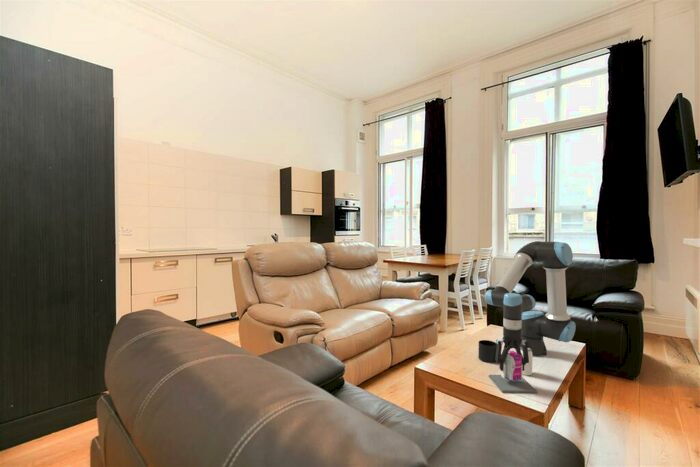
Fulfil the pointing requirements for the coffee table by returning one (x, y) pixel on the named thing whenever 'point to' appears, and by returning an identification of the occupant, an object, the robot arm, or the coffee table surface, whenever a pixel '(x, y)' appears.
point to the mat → (512, 385)
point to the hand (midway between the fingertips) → (511, 377)
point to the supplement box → (513, 366)
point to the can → (528, 366)
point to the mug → (487, 351)
